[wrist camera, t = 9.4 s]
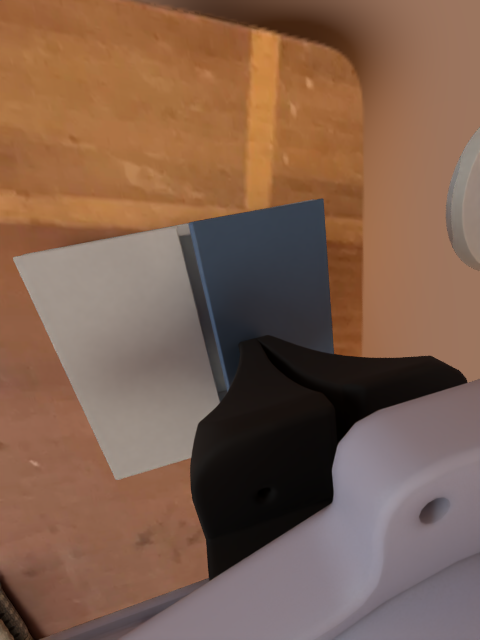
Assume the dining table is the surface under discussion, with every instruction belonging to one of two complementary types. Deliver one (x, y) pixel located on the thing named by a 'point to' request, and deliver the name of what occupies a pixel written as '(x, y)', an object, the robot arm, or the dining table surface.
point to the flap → (265, 278)
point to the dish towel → (11, 621)
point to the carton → (132, 340)
